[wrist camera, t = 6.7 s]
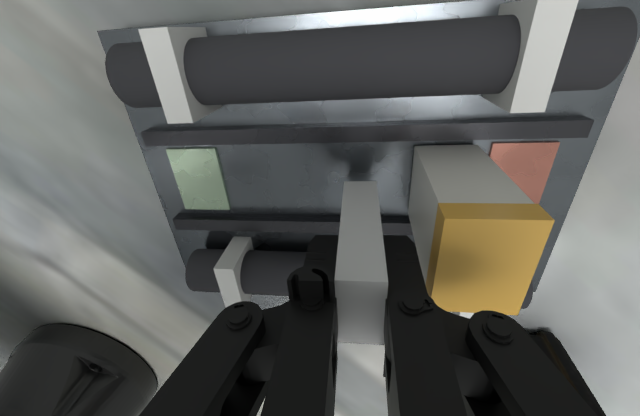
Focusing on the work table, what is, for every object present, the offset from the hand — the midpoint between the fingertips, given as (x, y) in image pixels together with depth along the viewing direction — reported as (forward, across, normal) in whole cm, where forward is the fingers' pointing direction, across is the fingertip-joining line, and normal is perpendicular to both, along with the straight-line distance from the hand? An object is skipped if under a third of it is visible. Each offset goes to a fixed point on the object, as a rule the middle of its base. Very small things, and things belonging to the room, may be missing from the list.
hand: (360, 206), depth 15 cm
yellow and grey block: (+3, +4, 0) cm, 5 cm away
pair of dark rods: (+3, -1, 0) cm, 3 cm away
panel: (+5, -1, 0) cm, 5 cm away
